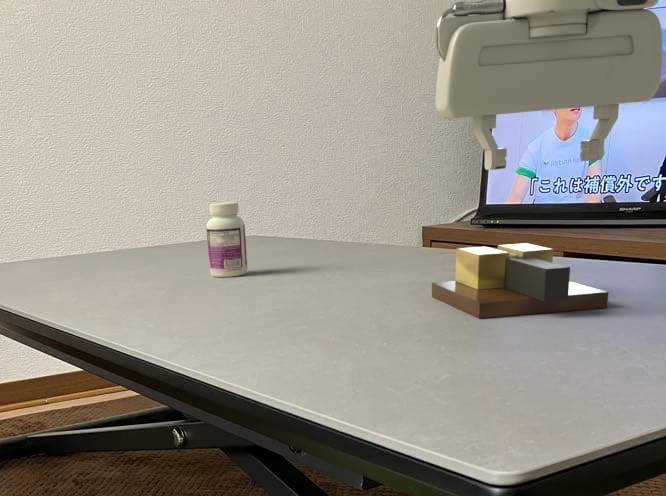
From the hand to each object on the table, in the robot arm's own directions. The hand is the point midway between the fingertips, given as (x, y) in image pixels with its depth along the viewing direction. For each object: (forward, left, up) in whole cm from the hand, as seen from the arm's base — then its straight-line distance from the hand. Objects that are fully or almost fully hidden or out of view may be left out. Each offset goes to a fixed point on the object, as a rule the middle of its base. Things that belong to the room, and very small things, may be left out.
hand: (543, 164), depth 85 cm
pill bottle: (+26, -45, -14) cm, 54 cm away
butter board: (0, -5, -13) cm, 14 cm away
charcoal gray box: (0, -5, -12) cm, 13 cm away
